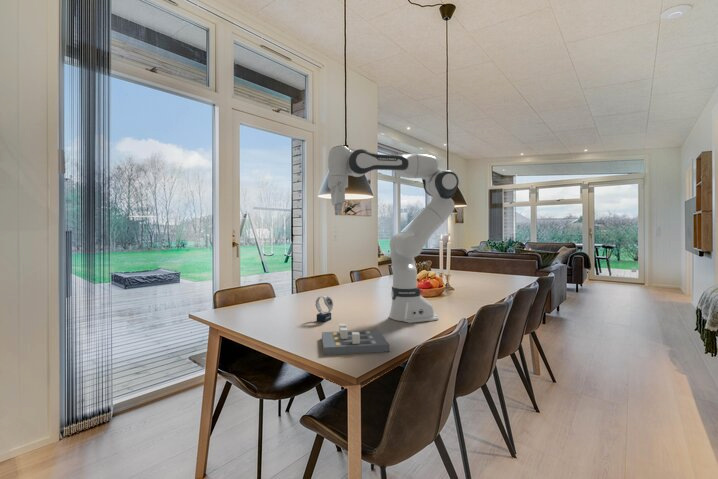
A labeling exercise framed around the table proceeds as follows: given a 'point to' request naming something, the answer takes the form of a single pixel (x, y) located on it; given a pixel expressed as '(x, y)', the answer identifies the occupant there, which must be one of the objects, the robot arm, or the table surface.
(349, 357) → the table surface
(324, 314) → the watch
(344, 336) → the breaker handle middle
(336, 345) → the breaker panel
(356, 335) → the breaker handle
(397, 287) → the robot arm
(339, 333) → the breaker handle far
